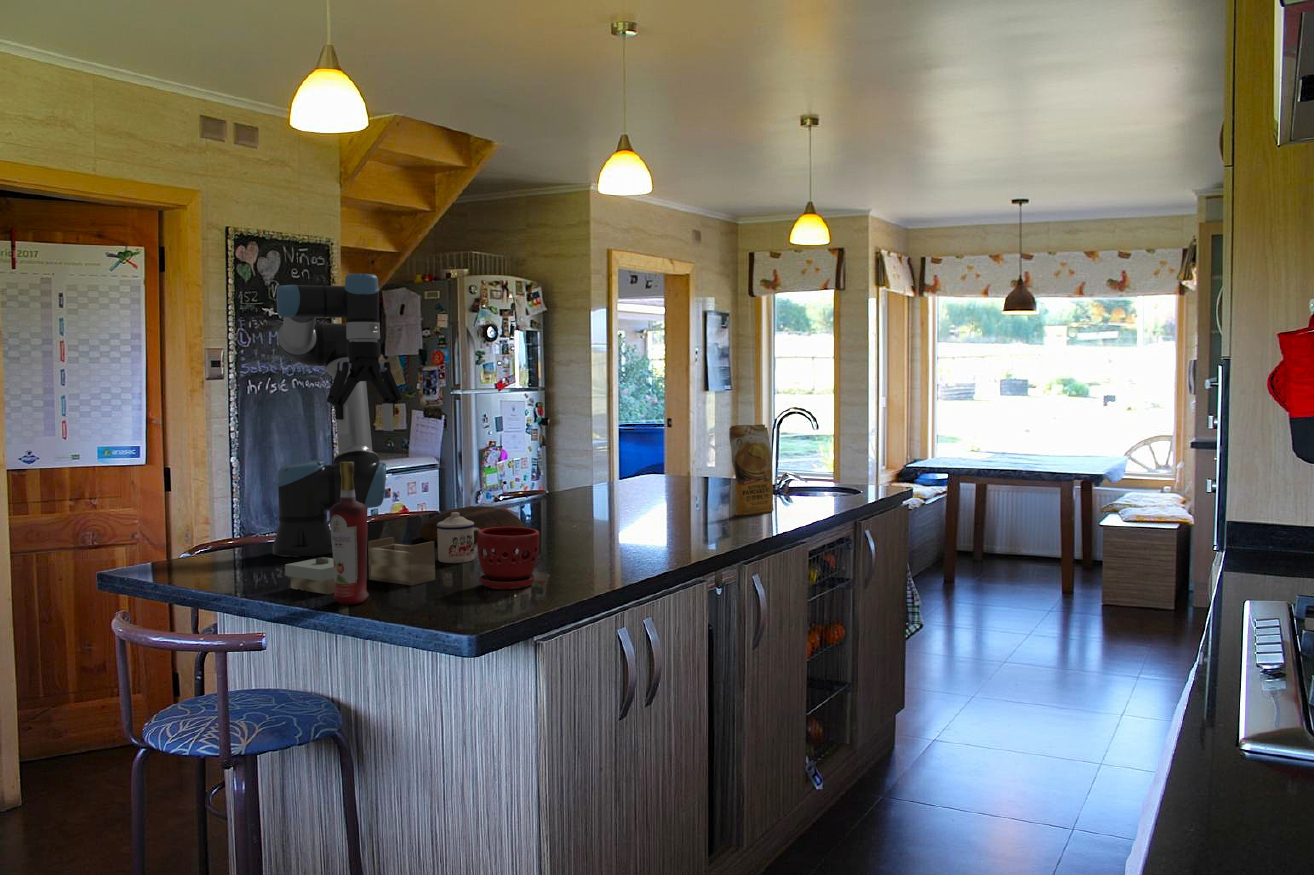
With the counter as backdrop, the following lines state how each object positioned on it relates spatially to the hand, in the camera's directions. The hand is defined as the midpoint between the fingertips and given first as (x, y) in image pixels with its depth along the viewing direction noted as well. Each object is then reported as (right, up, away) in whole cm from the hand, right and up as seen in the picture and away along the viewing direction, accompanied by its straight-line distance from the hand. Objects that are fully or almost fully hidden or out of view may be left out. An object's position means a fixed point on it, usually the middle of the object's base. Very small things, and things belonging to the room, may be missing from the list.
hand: (366, 432), depth 244 cm
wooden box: (+12, -33, -14) cm, 37 cm away
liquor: (+7, -34, -36) cm, 50 cm away
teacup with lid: (+20, -31, +11) cm, 39 cm away
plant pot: (+36, -33, -21) cm, 54 cm away
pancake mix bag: (+98, -25, +86) cm, 133 cm away
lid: (-3, -30, -22) cm, 38 cm away
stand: (-3, -33, -22) cm, 40 cm away
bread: (+17, -29, +44) cm, 56 cm away
